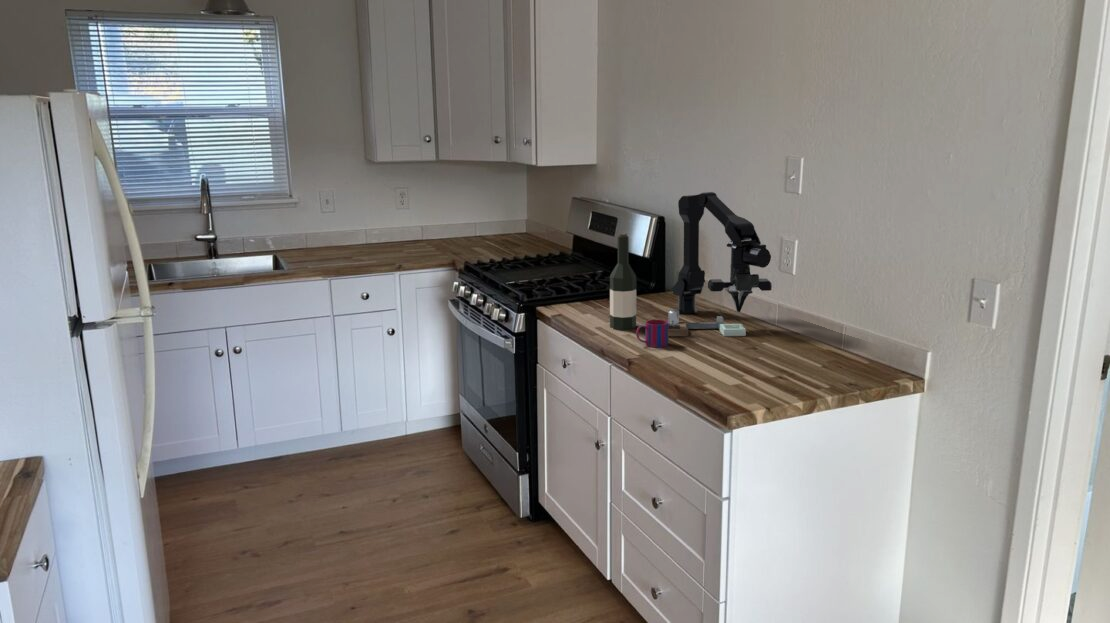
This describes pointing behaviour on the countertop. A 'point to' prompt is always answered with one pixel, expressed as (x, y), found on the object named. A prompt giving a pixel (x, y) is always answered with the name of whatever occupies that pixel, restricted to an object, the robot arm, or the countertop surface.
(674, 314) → the polished steel rod
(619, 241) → the wine bottle
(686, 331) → the socket block
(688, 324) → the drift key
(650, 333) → the mug
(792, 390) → the countertop surface
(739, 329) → the tray
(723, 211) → the robot arm
